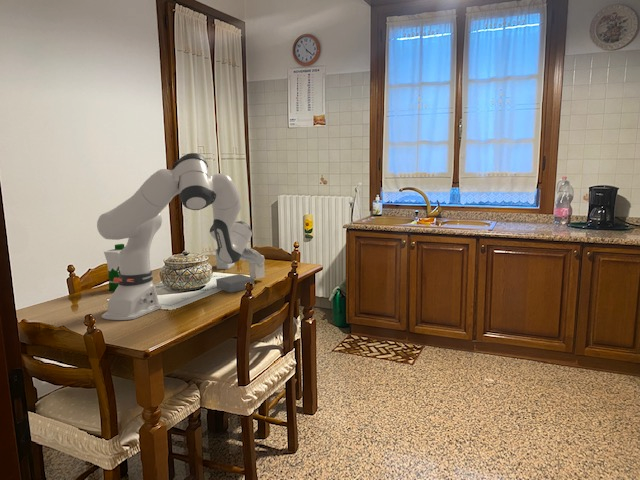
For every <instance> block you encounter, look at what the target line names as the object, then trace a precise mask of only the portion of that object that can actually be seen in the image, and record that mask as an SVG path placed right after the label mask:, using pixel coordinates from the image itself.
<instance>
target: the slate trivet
mask: <svg viewBox="0 0 640 480" xmlns="http://www.w3.org/2000/svg"><path fill="white" fill-rule="evenodd" d="M215 282H216V289H220V290H221V291H225V292H228V293H230V294H232V293H236V292H239V291H243V290H246V289H245V284H246V283H247V282H251V283H253V284H254V287H253V288H256V287H255V278H251V277H250V276H247V275H244V274H241V273H239V274H234V275H230V276H224V277H219V278H216V279H215Z"/></svg>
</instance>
